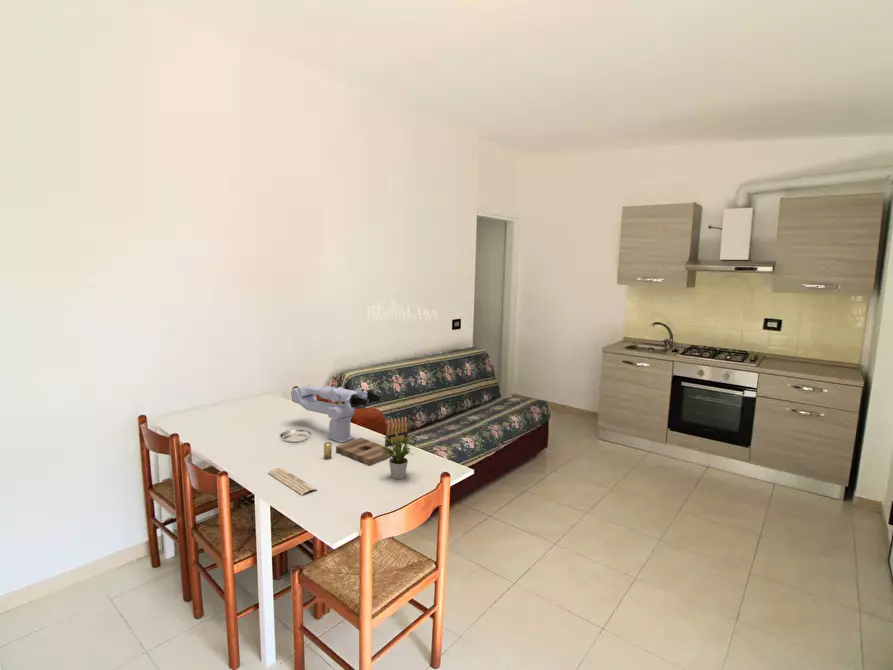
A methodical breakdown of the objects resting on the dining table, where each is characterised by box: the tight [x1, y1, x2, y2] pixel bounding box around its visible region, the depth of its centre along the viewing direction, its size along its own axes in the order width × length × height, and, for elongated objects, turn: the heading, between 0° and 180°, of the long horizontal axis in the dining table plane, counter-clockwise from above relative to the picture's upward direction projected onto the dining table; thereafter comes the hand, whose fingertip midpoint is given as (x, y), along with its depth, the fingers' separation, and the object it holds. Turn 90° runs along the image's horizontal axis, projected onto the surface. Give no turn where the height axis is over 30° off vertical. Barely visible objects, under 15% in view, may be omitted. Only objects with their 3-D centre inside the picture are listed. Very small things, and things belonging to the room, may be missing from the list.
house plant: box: [379, 433, 416, 480], centre depth 185 cm, size 14×14×16 cm
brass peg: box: [323, 441, 333, 460], centre depth 198 cm, size 3×3×6 cm
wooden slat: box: [267, 467, 318, 497], centre depth 177 cm, size 24×7×2 cm, turn 47°
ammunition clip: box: [384, 416, 409, 448], centre depth 215 cm, size 11×2×12 cm, turn 127°
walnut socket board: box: [335, 437, 395, 466], centre depth 204 cm, size 20×14×2 cm
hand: (373, 400), depth 205 cm, fingers open, 7 cm apart
